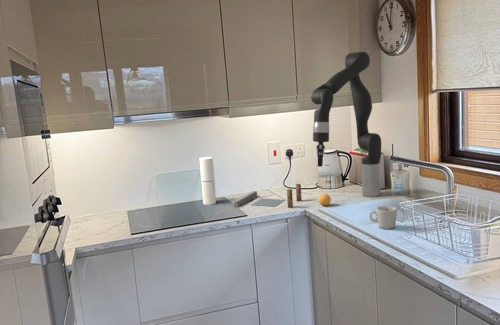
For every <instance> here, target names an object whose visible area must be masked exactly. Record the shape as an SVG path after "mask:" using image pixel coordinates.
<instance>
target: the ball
mask: <svg viewBox="0 0 500 325" xmlns="http://www.w3.org/2000/svg"><path fill="white" fill-rule="evenodd" d="M331 199H332V198H331V196H330V195H329V194H328V193H322V194H320V196H319V197H318V203H319V204H320V205H321V206H324V207H325V206H328V205H329V206H330V204H331V201H332V200H331Z"/></svg>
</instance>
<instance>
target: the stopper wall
mask: <svg viewBox="0 0 500 325" xmlns="http://www.w3.org/2000/svg"><path fill="white" fill-rule="evenodd" d="M257 197H258V191H255V190H253V191H251V192H250V193H248V194H245V195H244V196H242V197H240V198H238V199H236V200H234V201H233V205H234V208H240V207H241V206H242V205H243V206H244V205H245V204H246V203H248V202H250V201H251V200H252V201H253V199H256V198H257Z"/></svg>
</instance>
